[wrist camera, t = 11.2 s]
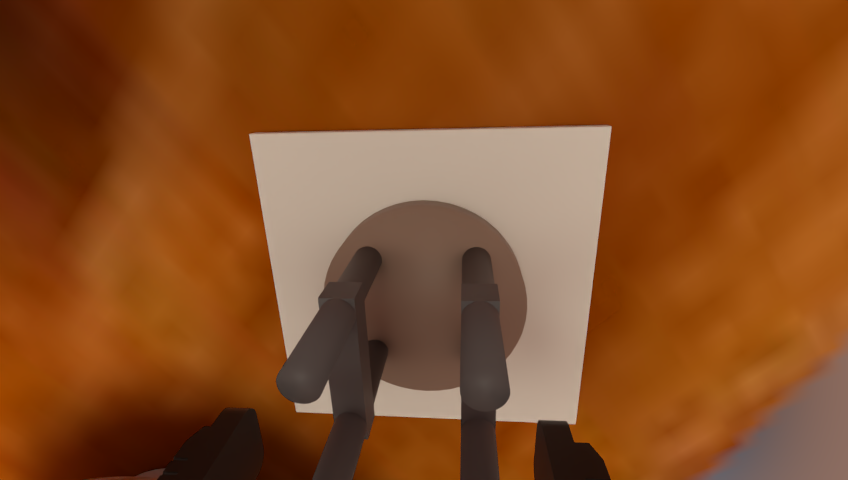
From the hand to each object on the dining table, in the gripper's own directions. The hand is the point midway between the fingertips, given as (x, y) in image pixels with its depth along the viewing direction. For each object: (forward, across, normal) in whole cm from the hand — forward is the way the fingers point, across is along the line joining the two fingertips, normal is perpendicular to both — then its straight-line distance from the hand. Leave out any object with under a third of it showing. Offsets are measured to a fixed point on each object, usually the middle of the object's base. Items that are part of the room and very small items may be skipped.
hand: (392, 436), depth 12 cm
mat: (+9, 0, 0) cm, 9 cm away
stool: (+9, 0, 0) cm, 9 cm away
